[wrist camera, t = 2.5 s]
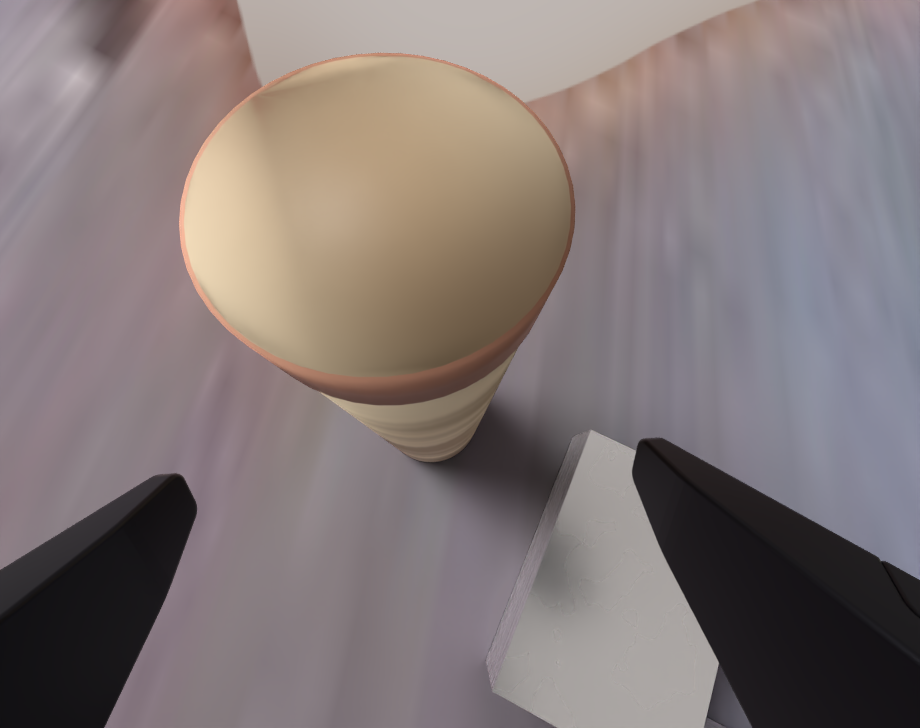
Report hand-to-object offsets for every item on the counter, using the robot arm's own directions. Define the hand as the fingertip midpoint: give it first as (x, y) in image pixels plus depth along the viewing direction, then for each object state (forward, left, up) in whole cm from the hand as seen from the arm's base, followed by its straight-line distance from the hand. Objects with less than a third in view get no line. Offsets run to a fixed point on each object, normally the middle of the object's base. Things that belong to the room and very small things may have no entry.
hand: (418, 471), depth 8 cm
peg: (+3, +1, -11) cm, 11 cm away
